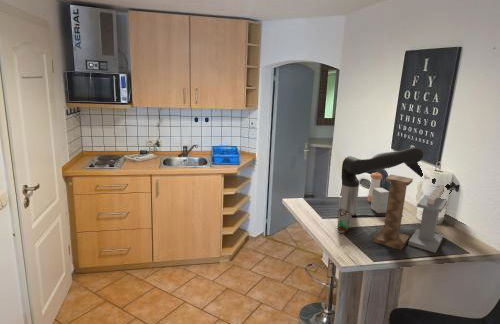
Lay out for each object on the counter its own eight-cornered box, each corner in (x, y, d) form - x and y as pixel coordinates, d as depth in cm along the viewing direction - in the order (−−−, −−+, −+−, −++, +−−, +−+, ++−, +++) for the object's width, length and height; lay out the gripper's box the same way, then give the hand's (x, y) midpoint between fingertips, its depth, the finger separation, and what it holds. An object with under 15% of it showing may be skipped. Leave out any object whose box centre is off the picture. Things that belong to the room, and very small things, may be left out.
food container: (350, 236, 174) (353, 218, 171) (338, 235, 175) (340, 216, 172) (349, 226, 185) (351, 208, 183) (337, 224, 186) (339, 207, 184)
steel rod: (426, 204, 162) (427, 198, 161) (436, 191, 180) (437, 186, 179) (433, 206, 160) (434, 199, 159) (443, 192, 178) (444, 187, 177)
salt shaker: (370, 197, 228) (374, 169, 223) (381, 201, 223) (385, 172, 218) (365, 200, 223) (368, 172, 218) (375, 203, 218) (379, 174, 213)
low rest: (408, 244, 167) (414, 203, 162) (417, 231, 181) (423, 193, 176) (435, 252, 160) (443, 210, 155) (442, 238, 174) (450, 199, 168)
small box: (387, 212, 205) (390, 191, 201) (377, 213, 203) (380, 192, 200) (379, 207, 212) (382, 187, 209) (370, 208, 211) (372, 187, 208)
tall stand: (371, 240, 170) (379, 178, 161) (380, 231, 180) (388, 172, 172) (401, 250, 162) (411, 185, 153) (409, 239, 172) (418, 178, 164)
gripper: (433, 180, 198) (429, 172, 185) (461, 186, 189) (460, 177, 177) (429, 193, 197) (426, 185, 184) (458, 199, 188) (457, 191, 175)
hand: (443, 181), depth 180 cm, fingers open, 8 cm apart
